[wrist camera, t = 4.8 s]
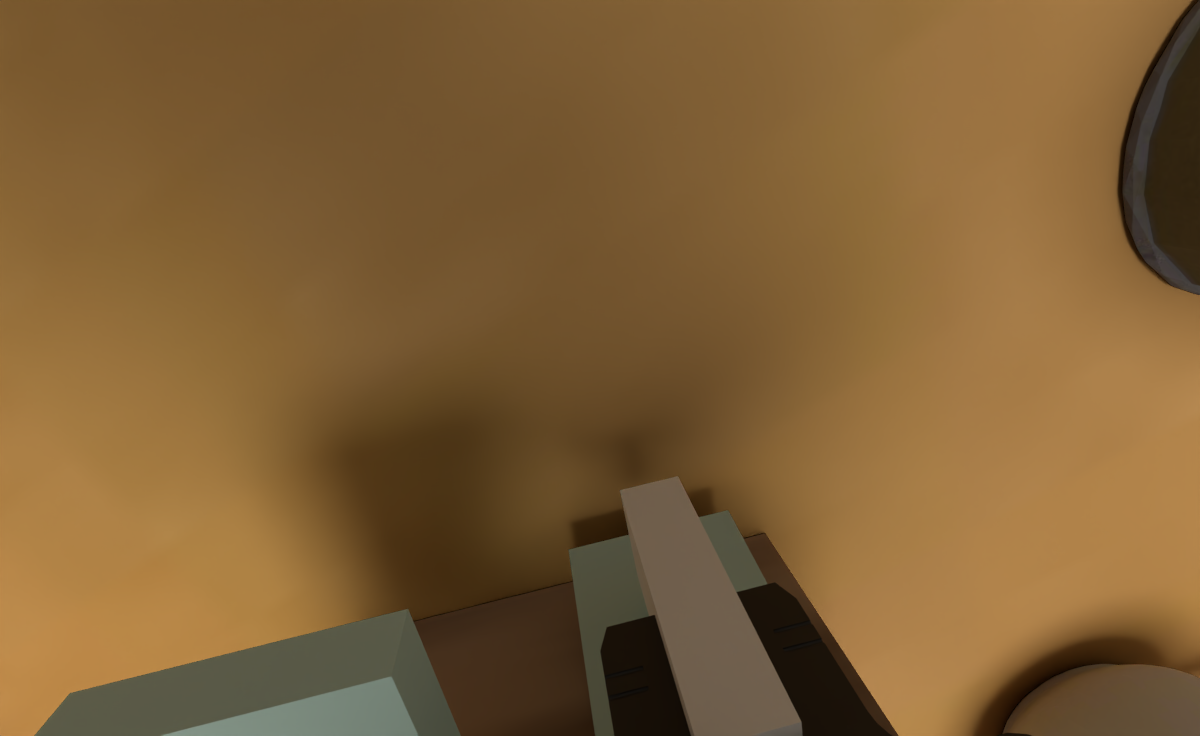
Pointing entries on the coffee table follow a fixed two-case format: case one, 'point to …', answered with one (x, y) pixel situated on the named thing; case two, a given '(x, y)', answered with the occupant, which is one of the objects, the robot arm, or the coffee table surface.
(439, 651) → the block
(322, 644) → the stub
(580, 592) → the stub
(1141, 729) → the teacup
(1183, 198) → the canister
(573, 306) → the coffee table surface
